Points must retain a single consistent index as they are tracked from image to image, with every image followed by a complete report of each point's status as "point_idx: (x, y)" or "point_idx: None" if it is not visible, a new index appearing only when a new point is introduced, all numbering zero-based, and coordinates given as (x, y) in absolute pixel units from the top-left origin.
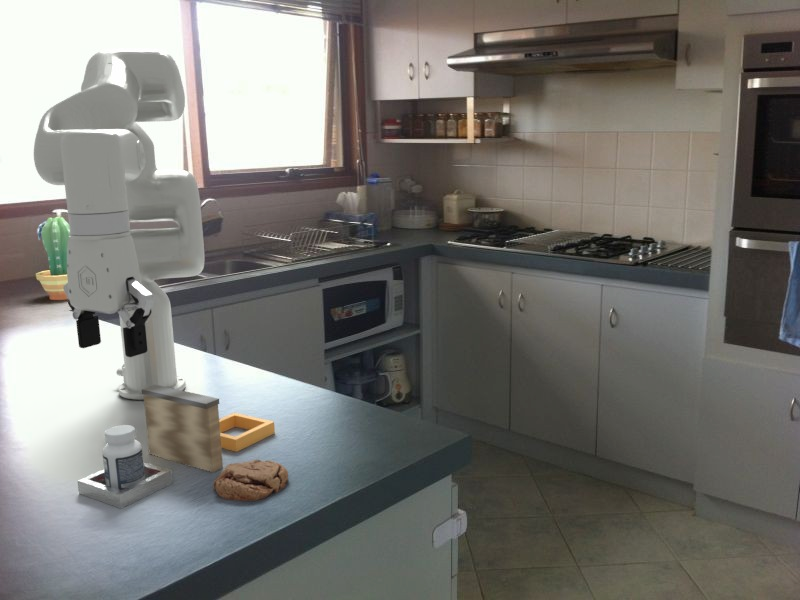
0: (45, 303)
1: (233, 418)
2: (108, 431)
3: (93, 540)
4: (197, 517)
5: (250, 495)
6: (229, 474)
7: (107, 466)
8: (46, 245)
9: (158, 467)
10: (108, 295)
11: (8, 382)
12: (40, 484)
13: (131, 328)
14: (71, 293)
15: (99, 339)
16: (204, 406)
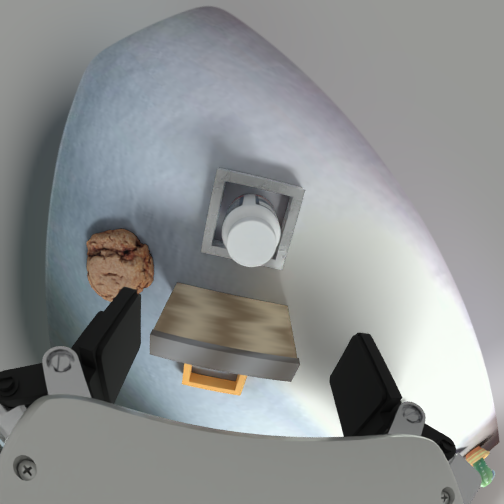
0: (480, 442)
1: (235, 387)
2: (266, 233)
3: (197, 95)
4: (122, 181)
5: (94, 234)
6: (125, 258)
7: (258, 202)
8: (488, 469)
9: (223, 254)
10: (35, 481)
11: (485, 370)
12: (367, 198)
13: (79, 359)
14: (438, 490)
15: (332, 384)
16: (155, 332)
